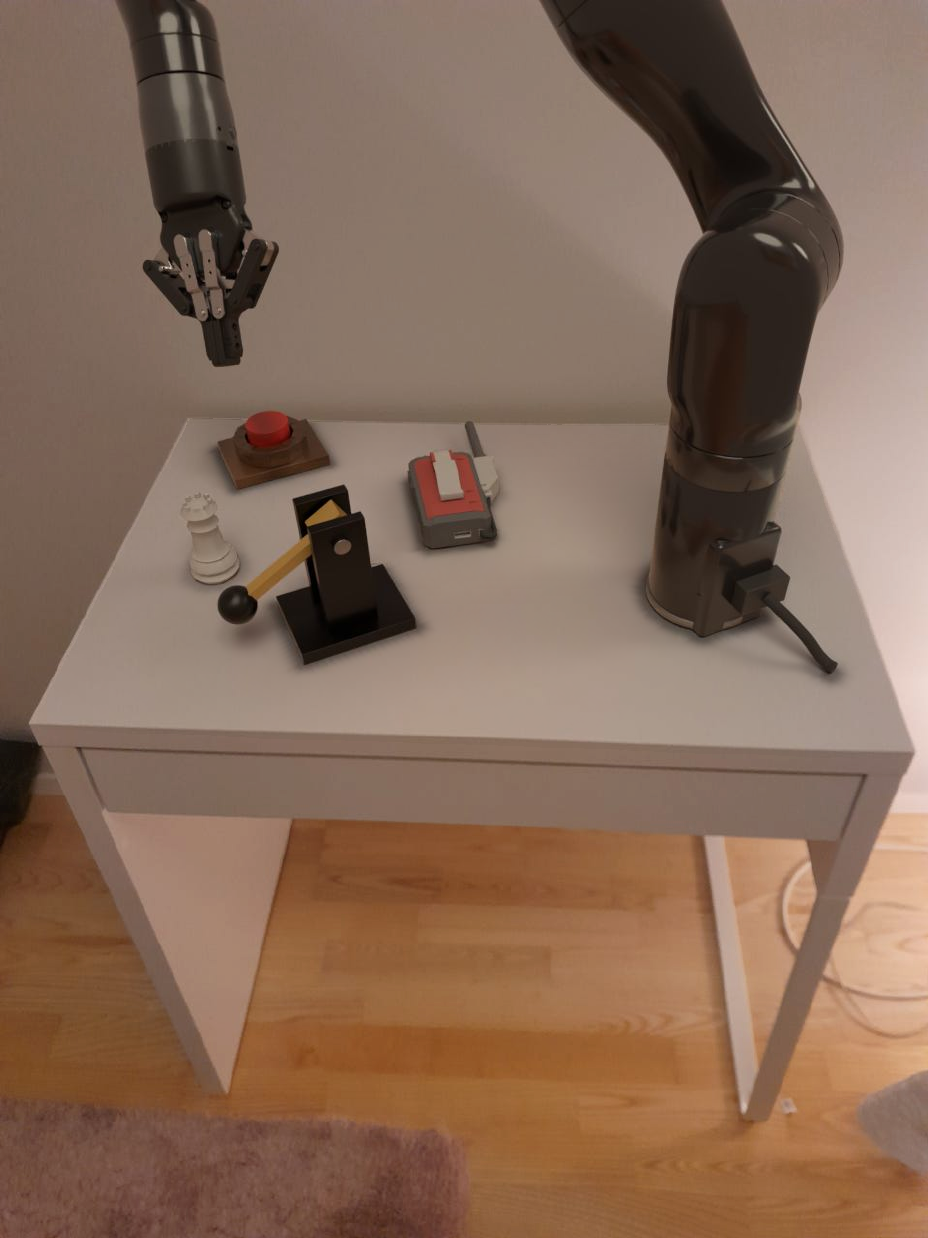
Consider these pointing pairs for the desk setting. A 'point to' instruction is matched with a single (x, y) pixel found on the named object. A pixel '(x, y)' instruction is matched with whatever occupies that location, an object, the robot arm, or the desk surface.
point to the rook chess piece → (208, 541)
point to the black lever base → (340, 585)
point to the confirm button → (267, 429)
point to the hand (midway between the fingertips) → (227, 365)
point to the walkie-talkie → (455, 494)
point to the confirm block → (272, 455)
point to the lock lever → (270, 574)
